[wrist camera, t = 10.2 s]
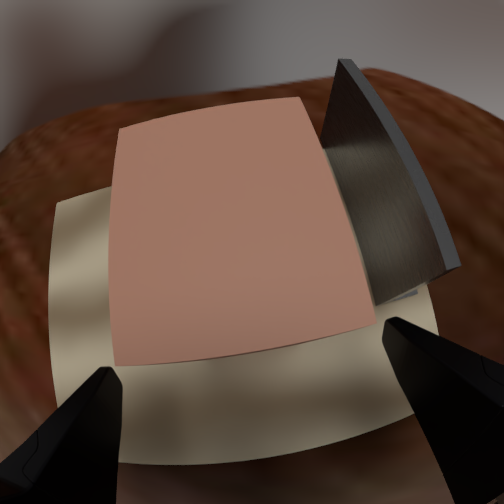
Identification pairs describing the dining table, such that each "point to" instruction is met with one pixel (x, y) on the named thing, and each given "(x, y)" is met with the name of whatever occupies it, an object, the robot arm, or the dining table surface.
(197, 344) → the salmon pink rectangular block
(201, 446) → the beige cloth placemat
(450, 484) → the robot arm
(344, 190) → the bookend
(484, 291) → the dining table surface
